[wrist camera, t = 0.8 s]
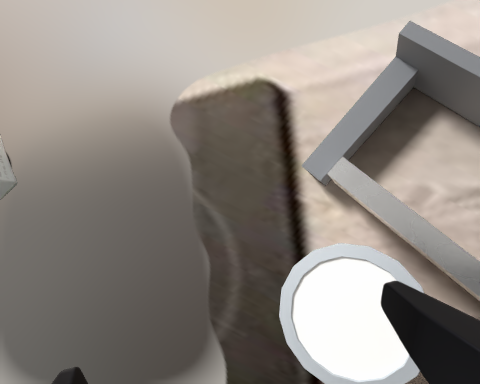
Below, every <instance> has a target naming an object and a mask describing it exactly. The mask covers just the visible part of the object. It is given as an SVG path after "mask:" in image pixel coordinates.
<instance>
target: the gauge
mask: <svg viewBox="0 0 480 384" xmlns="http://www.w3.org/2000/svg"><path fill="white" fill-rule="evenodd" d="M413 87H414V88H416V89H418V90H419V91H421V92H423V93H424V94H426V95H428V96H429V97H431V98H433V99H434V100H436V101H437V102H439V103H441V104H442V105H444V106H446V107H447V108H449V109H451V110H452V111H454V112H456V113H457V114H459V115H461V116H462V117H464V118H466V119H467V120H469V121H471V122H472V123H474V124H476V125H477V126H479V127H480V57H479V56H477V55H475V54H473V53H471V52H469V51H467V50H465V49H463V48H461V47H459V46H457V45H456V44H454V43H452V42H450V41H448V40H446V39H444V38H442V37H440V36H438V35H436V34H434V33H432V32H431V31H429V30H427V29H425V28H423V27H421V26H419V25H417V24H415V23H413V22H411V21H409V22H408V24H407V25H406V26H405V27H404V28H403V29H402V31H401V32H400V33H399V38H398V45H397V52H396V57H395V58H394V59H393V60H392V62H391V63H390V64H389V65H388V66H387V67H386V69H385V70H384V71H383V72H382V73H381V74H380V75H379V77H378V78H377V79H376V80H375V81H374V82H373V84H372V85H371V86H370V87H369V88H368V89H367V91H366V92H365V93H364V94H363V95H362V96H361V98H360V99H359V100H358V101H357V102H356V103H355V104H354V106H353V107H352V108H351V109H350V110H349V111H348V113H347V114H346V115H345V116H344V117H343V118H342V120H341V121H340V122H339V123H338V124H337V125H336V126H335V128H334V129H333V130H332V131H331V132H330V133H329V135H328V136H327V137H326V138H325V139H324V140H323V142H322V143H321V144H320V145H319V146H318V147H317V148H316V150H315V151H314V152H313V153H312V154H311V155H310V157H309V158H308V159H307V160H306V161H305V162H304V164H303V165H302V167H304V168H305V169H306V170H307V171H308V172H309V173H310V174H312V175H313V176H314V177H315V178H316V179H318V180H319V181H320V182H321V183H322V184H324V185H325V186H326V185H327V183H328V182H329V181H330V180H331V178H330V177H329V175H328V174H327V173H328V172H329V171H330V170H331V169H332V168H333V167H334V165H335V164H336V163H337V162H338V161H339V160H340V159H341V157H342V156H343V157H344V158H345V159H346V160H349V159H350V158H351V157H352V155H353V154H354V153H355V152H356V151H357V150H358V149H359V148H360V146H361V145H362V144H363V143H364V142H365V141H366V140H367V139H368V138H369V136H370V135H371V134H372V133H373V132H374V131H375V130H376V129H377V127H378V126H379V125H380V124H381V123H382V122H383V121H384V120H385V118H386V117H387V116H388V115H389V114H390V113H391V112H392V111H393V110H394V108H395V107H396V106H397V105H398V104H399V103H400V102H401V101H402V99H403V98H404V97H405V96H406V95H407V94H408V93H409V92H410V91H411V89H412V88H413Z"/></svg>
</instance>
